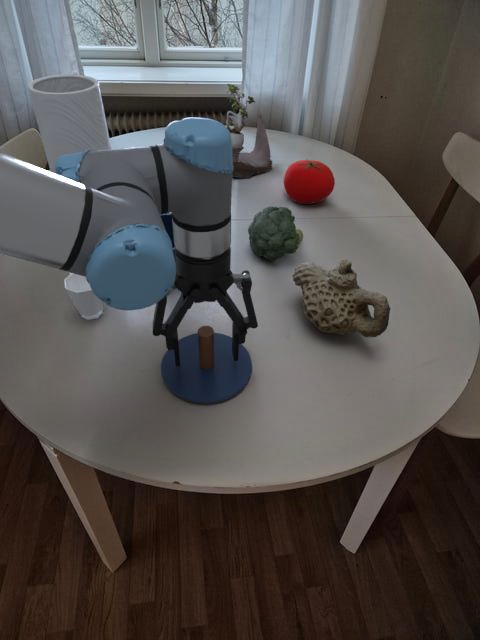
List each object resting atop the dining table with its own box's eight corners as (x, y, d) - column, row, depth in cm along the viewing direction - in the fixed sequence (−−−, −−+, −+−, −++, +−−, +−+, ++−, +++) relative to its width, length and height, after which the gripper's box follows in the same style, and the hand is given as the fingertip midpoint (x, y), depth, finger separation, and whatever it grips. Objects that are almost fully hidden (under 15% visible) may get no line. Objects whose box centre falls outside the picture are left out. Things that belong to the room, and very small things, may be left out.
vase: (135, 214, 112) (114, 80, 90) (100, 241, 102) (67, 98, 81) (90, 202, 116) (60, 70, 94) (52, 226, 106) (9, 86, 85)
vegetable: (324, 251, 98) (283, 245, 88) (282, 271, 107) (241, 268, 96) (311, 202, 100) (270, 191, 90) (271, 225, 109) (229, 218, 98)
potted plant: (196, 163, 141) (210, 78, 129) (248, 172, 149) (265, 92, 137) (214, 179, 125) (231, 84, 114) (271, 187, 133) (293, 99, 121)
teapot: (272, 309, 87) (279, 246, 76) (311, 286, 92) (323, 225, 82) (356, 373, 75) (377, 309, 65) (395, 343, 81) (420, 280, 70)
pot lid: (162, 410, 68) (156, 373, 62) (161, 340, 79) (156, 302, 73) (258, 400, 70) (262, 363, 64) (244, 333, 81) (246, 296, 75)
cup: (84, 330, 81) (74, 297, 75) (59, 303, 86) (48, 271, 80) (117, 313, 84) (109, 281, 79) (91, 289, 89) (83, 257, 84)
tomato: (271, 195, 122) (274, 159, 115) (302, 183, 128) (307, 148, 121) (309, 215, 114) (315, 178, 107) (339, 201, 121) (347, 165, 113)
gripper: (276, 226, 61) (265, 336, 77) (121, 234, 59) (141, 346, 74) (288, 256, 56) (273, 368, 71) (117, 266, 53) (140, 380, 69)
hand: (206, 357), depth 73 cm, fingers open, 9 cm apart
